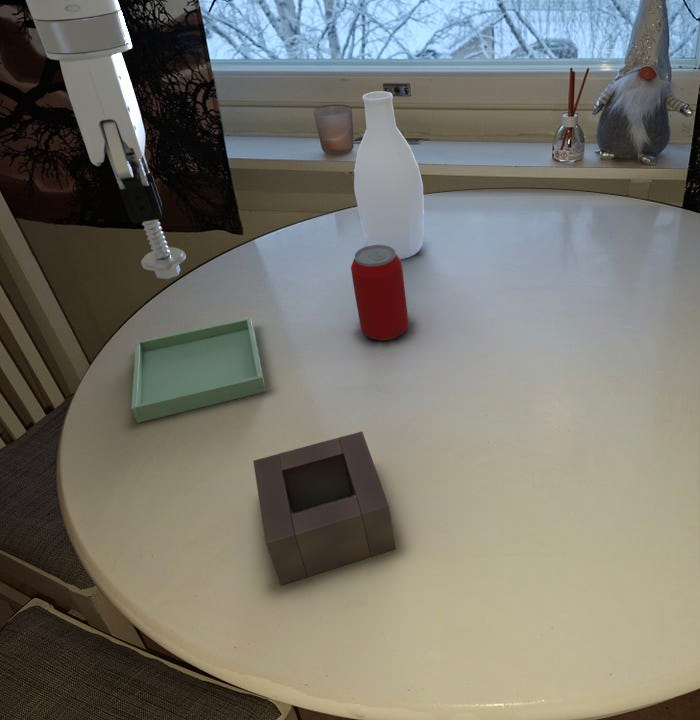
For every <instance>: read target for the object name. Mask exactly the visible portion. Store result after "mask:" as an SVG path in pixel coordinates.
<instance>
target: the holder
mask: <svg viewBox="0 0 700 720" xmlns="http://www.w3.org/2000/svg"><path fill="white" fill-rule="evenodd" d="M252 463H253V469H254V475H255V482H256V489H257V495H258V501H259V508H260V515H261V522H262V528H263V533H264V542H265V546H266V549H267V552H268V554H269V557H270V561H271V563H272V566H273V569H274V572H275V574H276V577H277V581H278V583H279V586H283V585H287V584H290V583H293V582H296V581H298V580H299V581H300V580H302V579H305V578H307V577H311V576H315V575H318V574H321V573H325V572H326V571H330V570H332V569H336V568H340V567H342V566H346V565H349V564H352V563H355V562H358V561H361V560H364V559H367V558H371V557H375V556H377V555H380V554H381V555H382V554H385V553H386V552H390V551H393V550H396V549H397V545H396V540H395V534H394V527H393V522H392V517H391V509H390V505H389V502H388V500H387V497H386V494H385V492H384V489H383V486H382V483H381V480H380V477H379V474H378V471H377V469H376V466H375V464H374V460H373V458H372V455H371V452H370V450H369V446H368V443H367V441H366V438H365V435H364V432H363V431H358V432H353V433H351V434H347V435H343V436H339V437H336V438H332V439H329V440H324V441H321V442H317V443H314V444H313V443H312V444H310V445H306V446H302V447H298V448H294V449H291V450H287V451H283V452H280V453H277V454H272V455H269V456H265V457H261V458H258V459H254V460H253V461H252ZM348 496H349V497H348ZM342 498H343V499H342ZM338 499H340V500H338ZM335 500H336V501H335ZM332 501H334V502H332ZM329 502H331V503H329ZM322 504H323V505H322ZM318 505H320V506H318ZM315 506H316V507H315ZM311 507H313V508H311ZM308 508H310V509H308ZM304 509H305V510H304ZM301 510H303V511H301ZM297 511H299V512H297Z"/></svg>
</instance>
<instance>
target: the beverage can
mask: <svg viewBox="0 0 700 720" xmlns="http://www.w3.org/2000/svg"><path fill="white" fill-rule="evenodd" d="M353 256H354V258H353V261H352V263H351V267H350V271H351V277H352V284H353V290H354V296H355V303H356V309H357V315H358V320H359V325H360V330H361V333H362V334H363V335H365V336H366V337H368V338H371V339H375V340H378V341H379V340H380V341H386V340H387V341H388V340H391V339H394V338H397V337H399V336H400V335H402V334H404V332H406V330H407V329H408V327H409V315H408V305H407V304H408V303H407V296H406V295H407V294H406V287H405V279H404V278H405V277H404V271H403V263H402V259H399V257H398V256H397V255H396V253H395V250H394V249H393V248H391V247H389V246H385V245H371V246H368V245H366V246H363V247H361V248H360V249H358V250H356V252H355V253H354V255H353Z"/></svg>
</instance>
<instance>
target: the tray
mask: <svg viewBox="0 0 700 720" xmlns="http://www.w3.org/2000/svg"><path fill="white" fill-rule="evenodd" d="M133 361H134V362H133V376H132V392H131V393H132V394H131V407H130V408H131V411H132V413H133V416H134V418H135V420H136V422H137V423H138V424H139V423H143V422H148V421H151V420H156V419H160V418H163V417H168V416H172V415H176V414H180V413H184V412H188V411H192V410H197V409H201V408H204V407H208V406H209V407H210V406H214V405H217V404H221V403H222V404H223V403H225V402H230V401H233V400H238V399H242V398H246V397H251V396H254V395H257V394H258V395H259V394H263V393H266V392H267V389H266V388H267V387H266V383H265V378H264V373H263V368H262V363H261V358H260V351H259V348H258V342H257V338H256V332H255V327H254V325H253V322H252V317H245V318H240V319H235V320H231V321H226V322H222V323H216V324H213V325H212V324H211V325H207V326H203V327H199V328H193V329H189V330H184V331H179V332H174V333H170V334H165V335H161V336H157V337H152V338H147V339H143V340H137V341H135V346H134V360H133Z"/></svg>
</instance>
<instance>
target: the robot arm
mask: <svg viewBox="0 0 700 720" xmlns="http://www.w3.org/2000/svg"><path fill="white" fill-rule="evenodd" d="M25 3H26V5H27V7H28V10H29V13H30V15H31V17H32V20H33V23H34V25H35V28H36V31H37V33H38V36H39V38H40V41H41V44H42V47H43V49H44V52H45V54H46V58H48V59H50V60H54V61H59V65H60V69H61V73H62V78H63V81H64V84H65V88H66V91H67V94H68V98H69V101H70V104H71V108H72V109H73V114H74V116H75V118H76V119H75V120H76V122H77V125H78V128H79V130H80V135H81V136H82V139H83V143H84V145H85V148H86V151H87V154H88V158H89V160H90V162H91V163H92V165H94V166H96V167H100V166H101V165H102V163H104V161H105V158H106V155H107V157H108V160H109V162H110V163H109V164H110V166H111V168H112V171H113V174H114V176H115V180H116V182H117V184H118V190H119V193H120V195H121V198H122V202H123V204H124V206H125V209H126V213H127V215H128V217H129V220H130V222H131V223H132V224H139V223H143V222H146V221H152V220H158V219H159V220H161V219H162V217H163V213H162V208H163V203H162V200H161V197H160V195H159V191H158V188H157V185H156V182H155V179H154V177H153V173H150V169H149V165H148V161H147V159H146V155H145V148H146V131H145V126H144V122H143V119H142V114H141V110H140V107H139V103H138V101H137V98H136V97H137V96H136V94H135V90H134V88H133V84H132V81H131V79H130V75H129V72H128V69H127V65H126V63H125V60H124V57H123V54H122V53H124V52H128V51H129V50H131V49H133V44H132V41H131V37H130V34H129V31H128V28H127V26H126V22H125V18H124V16H123V12H122V10H121V7H120V3H119V1H118V0H25ZM159 220H158V221H159Z"/></svg>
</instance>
